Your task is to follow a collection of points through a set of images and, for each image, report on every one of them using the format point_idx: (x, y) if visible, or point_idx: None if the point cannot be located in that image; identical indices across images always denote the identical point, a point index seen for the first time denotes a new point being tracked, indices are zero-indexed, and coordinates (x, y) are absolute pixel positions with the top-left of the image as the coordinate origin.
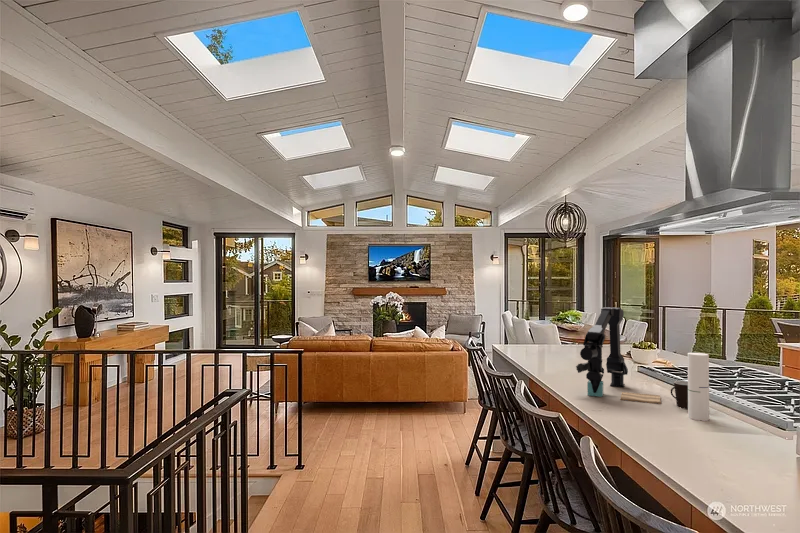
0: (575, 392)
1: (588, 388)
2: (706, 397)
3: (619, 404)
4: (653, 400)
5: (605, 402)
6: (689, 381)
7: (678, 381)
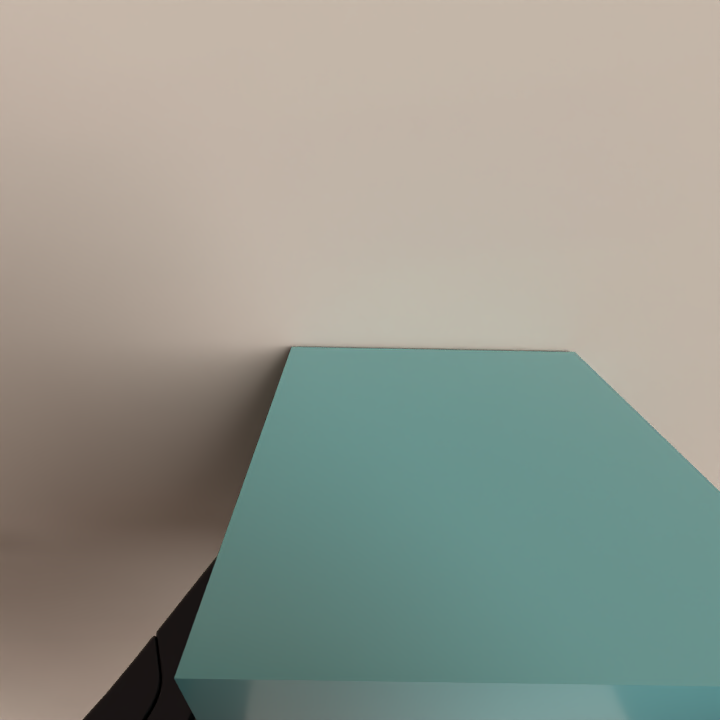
0: (531, 3)
1: (261, 466)
2: None
3: (46, 641)
4: None
5: (9, 560)
6: None
7: None
